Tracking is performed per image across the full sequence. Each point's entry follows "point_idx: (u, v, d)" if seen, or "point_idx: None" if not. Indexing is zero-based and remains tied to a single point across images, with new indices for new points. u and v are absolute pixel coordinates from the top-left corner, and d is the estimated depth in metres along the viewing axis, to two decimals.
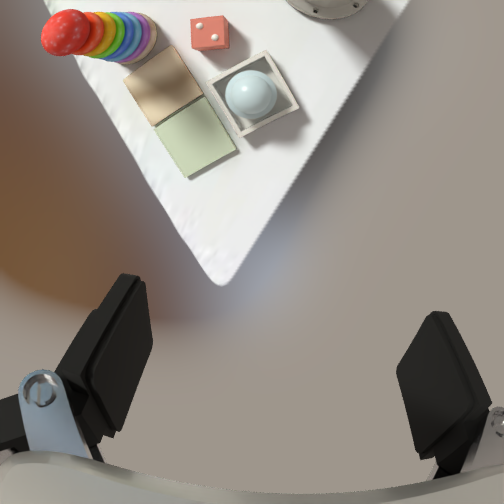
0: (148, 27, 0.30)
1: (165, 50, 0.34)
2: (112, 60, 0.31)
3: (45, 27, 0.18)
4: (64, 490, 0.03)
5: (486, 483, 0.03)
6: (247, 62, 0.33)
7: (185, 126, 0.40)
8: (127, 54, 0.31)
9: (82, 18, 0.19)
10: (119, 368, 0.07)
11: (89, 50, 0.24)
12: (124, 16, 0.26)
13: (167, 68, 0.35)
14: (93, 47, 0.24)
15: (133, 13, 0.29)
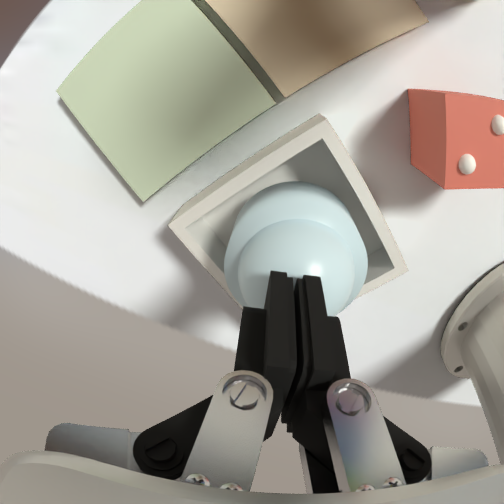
0: None
1: (414, 5, 0.09)
2: None
3: None
4: (65, 490, 0.03)
5: (486, 483, 0.03)
6: (382, 232, 0.14)
7: (181, 60, 0.12)
8: None
9: None
10: None
11: None
12: None
13: (363, 4, 0.10)
14: None
15: None
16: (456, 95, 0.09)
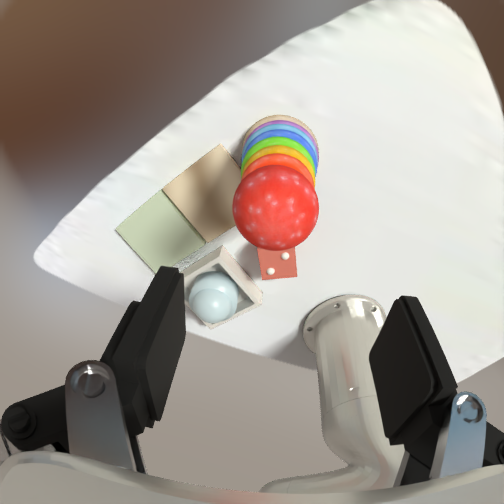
0: None
1: None
2: (242, 160, 0.28)
3: (288, 207, 0.16)
4: (64, 490, 0.03)
5: (486, 483, 0.03)
6: (246, 291, 0.39)
7: (168, 227, 0.37)
8: None
9: None
10: (163, 357, 0.08)
11: None
12: None
13: None
14: None
15: None
16: (262, 249, 0.34)
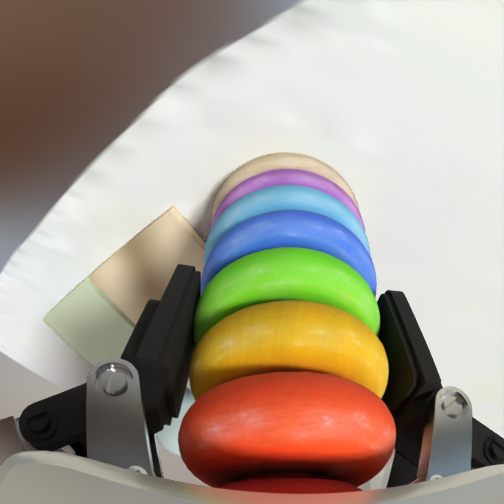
0: None
1: None
2: None
3: None
4: (64, 490, 0.03)
5: (486, 483, 0.03)
6: None
7: (109, 329, 0.22)
8: None
9: None
10: (182, 354, 0.08)
11: None
12: None
13: None
14: None
15: None
16: None
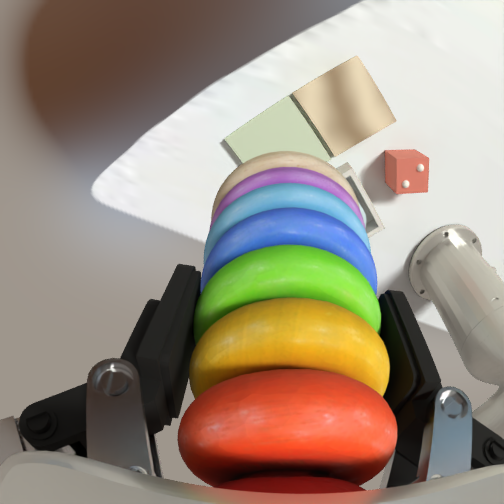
0: None
1: (390, 114, 0.30)
2: None
3: None
4: (64, 490, 0.03)
5: (486, 483, 0.03)
6: (372, 211, 0.34)
7: (293, 137, 0.32)
8: None
9: None
10: (182, 354, 0.08)
11: None
12: None
13: (368, 116, 0.30)
14: None
15: None
16: (401, 159, 0.29)
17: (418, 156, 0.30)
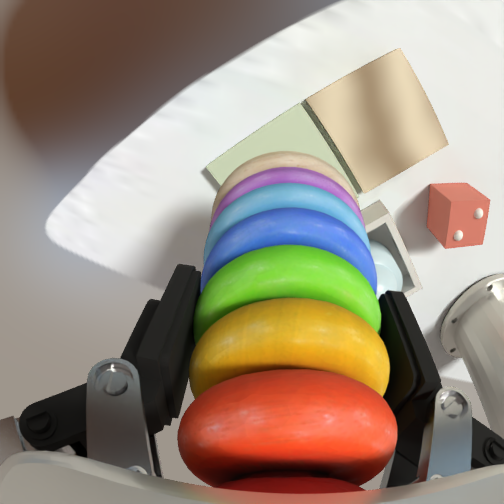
0: None
1: (442, 134, 0.20)
2: None
3: None
4: (64, 490, 0.03)
5: (486, 483, 0.03)
6: (410, 268, 0.24)
7: None
8: None
9: None
10: (182, 354, 0.08)
11: None
12: None
13: (413, 136, 0.20)
14: None
15: None
16: (457, 202, 0.19)
17: (476, 196, 0.20)
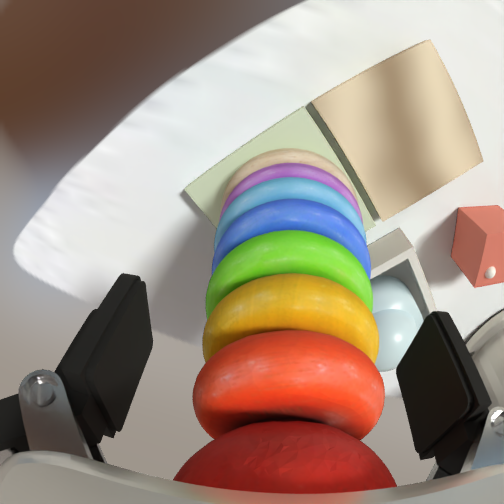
0: None
1: (476, 148, 0.15)
2: None
3: None
4: (65, 490, 0.03)
5: (486, 483, 0.03)
6: (431, 308, 0.20)
7: None
8: None
9: None
10: (119, 368, 0.07)
11: None
12: None
13: (444, 150, 0.16)
14: None
15: None
16: (493, 234, 0.15)
17: None
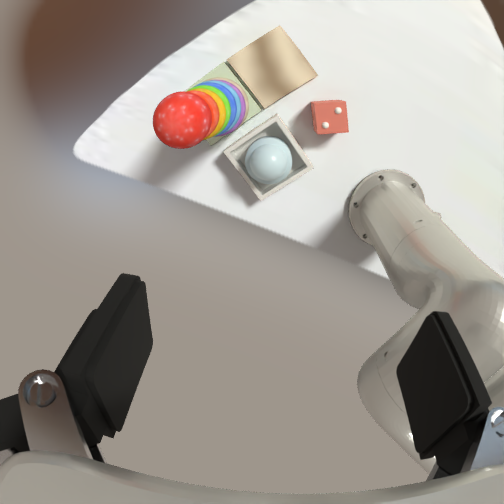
0: None
1: (312, 69, 0.35)
2: None
3: (181, 111, 0.22)
4: (64, 490, 0.03)
5: (486, 483, 0.03)
6: (300, 152, 0.39)
7: None
8: None
9: (194, 145, 0.25)
10: (119, 368, 0.07)
11: None
12: (227, 127, 0.33)
13: (292, 72, 0.36)
14: None
15: (241, 117, 0.36)
16: (318, 103, 0.35)
17: (336, 101, 0.35)
